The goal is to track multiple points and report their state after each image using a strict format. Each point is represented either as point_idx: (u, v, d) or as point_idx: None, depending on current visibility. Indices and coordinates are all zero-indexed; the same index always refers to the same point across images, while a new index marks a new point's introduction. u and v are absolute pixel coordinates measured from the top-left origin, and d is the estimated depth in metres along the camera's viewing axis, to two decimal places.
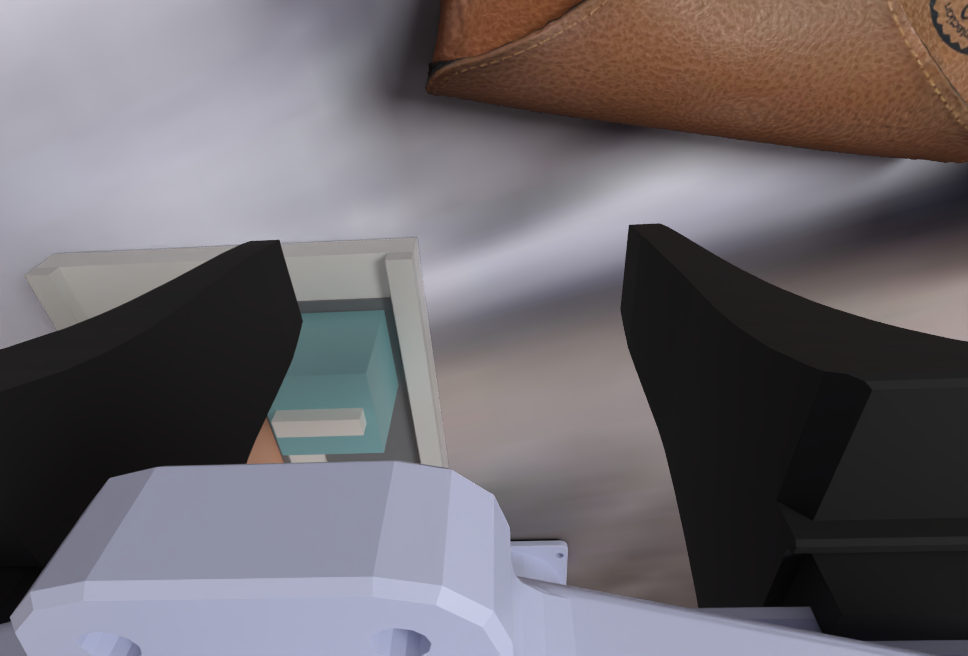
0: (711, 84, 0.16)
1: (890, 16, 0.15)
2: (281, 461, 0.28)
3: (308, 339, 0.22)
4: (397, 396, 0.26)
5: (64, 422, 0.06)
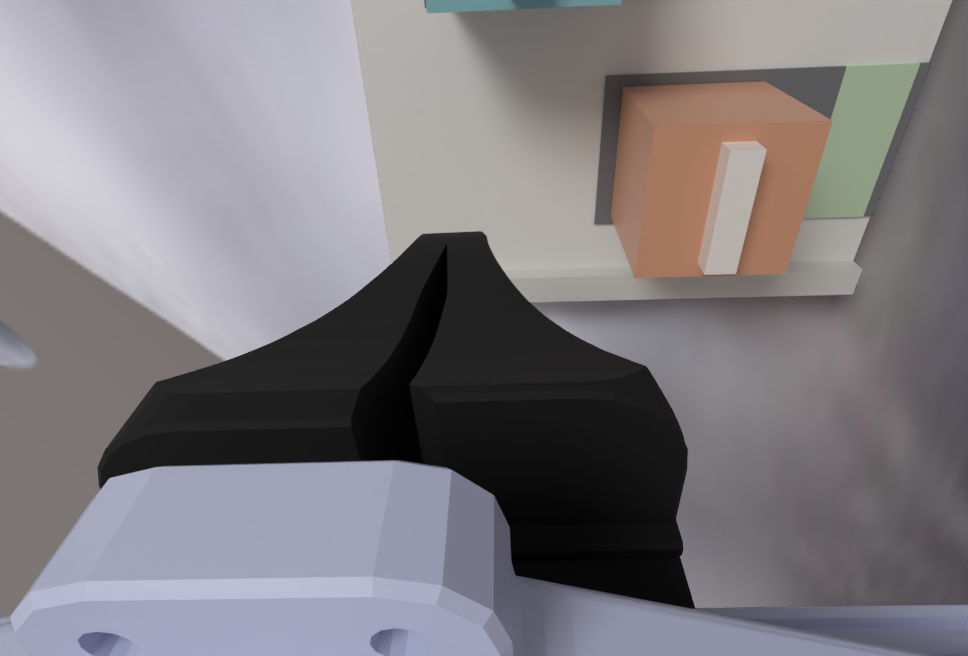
0: None
1: None
2: (753, 83, 0.16)
3: None
4: None
5: (389, 412, 0.06)
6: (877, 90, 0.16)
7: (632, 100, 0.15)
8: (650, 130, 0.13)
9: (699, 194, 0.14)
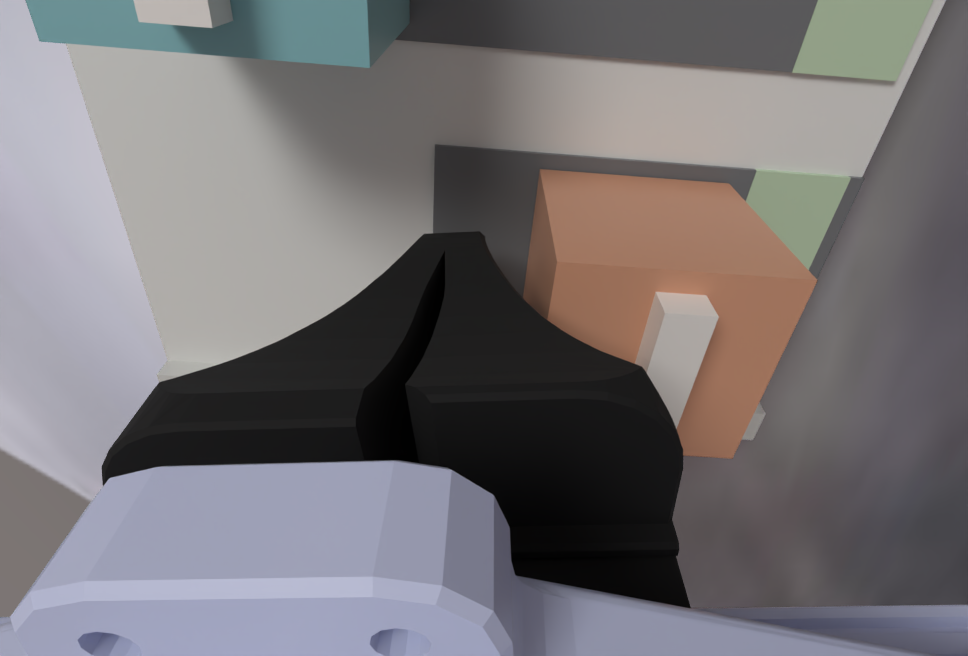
0: None
1: None
2: (713, 185, 0.12)
3: None
4: None
5: (393, 413, 0.06)
6: (795, 204, 0.12)
7: (544, 197, 0.11)
8: (553, 261, 0.09)
9: (620, 354, 0.10)
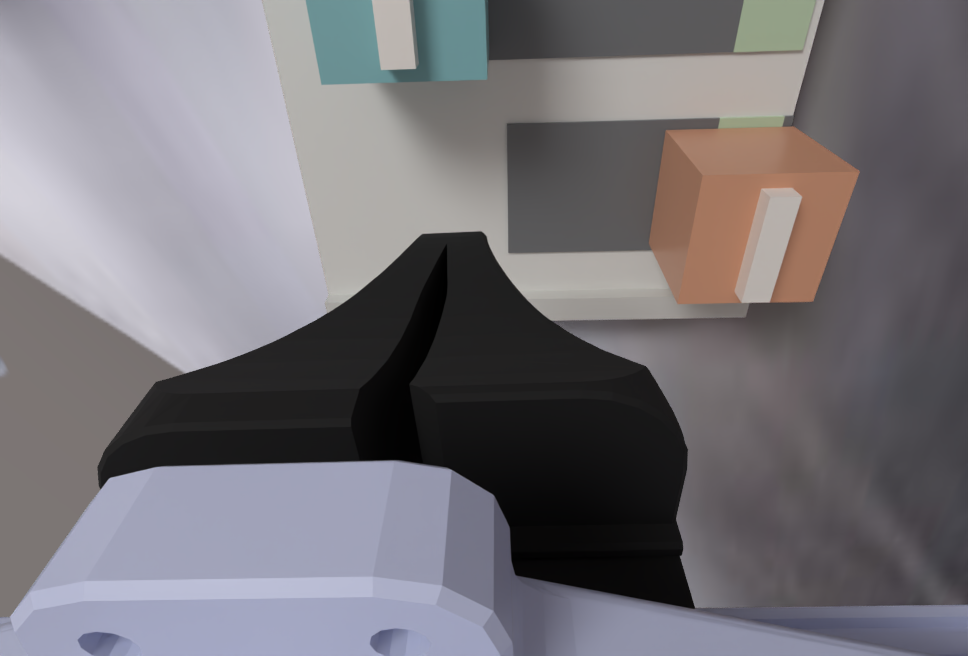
0: None
1: None
2: (783, 128, 0.18)
3: None
4: None
5: (389, 412, 0.06)
6: None
7: (677, 145, 0.17)
8: (698, 177, 0.15)
9: (739, 232, 0.16)
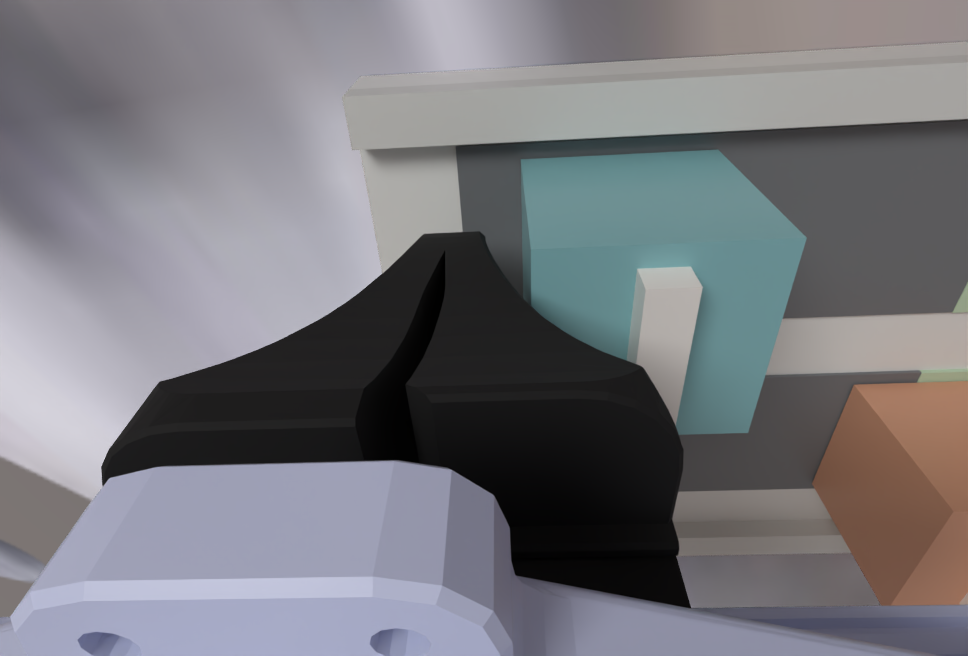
0: None
1: None
2: None
3: None
4: None
5: (392, 412, 0.06)
6: None
7: (883, 423, 0.14)
8: (940, 503, 0.12)
9: None
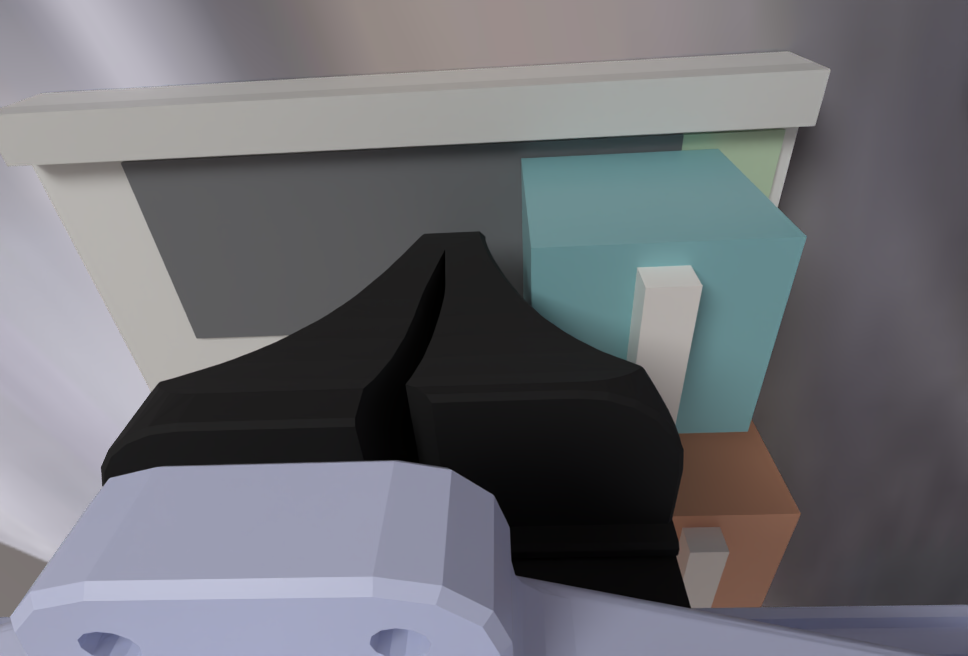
0: None
1: None
2: None
3: None
4: (370, 172, 0.12)
5: (393, 412, 0.06)
6: None
7: None
8: None
9: None
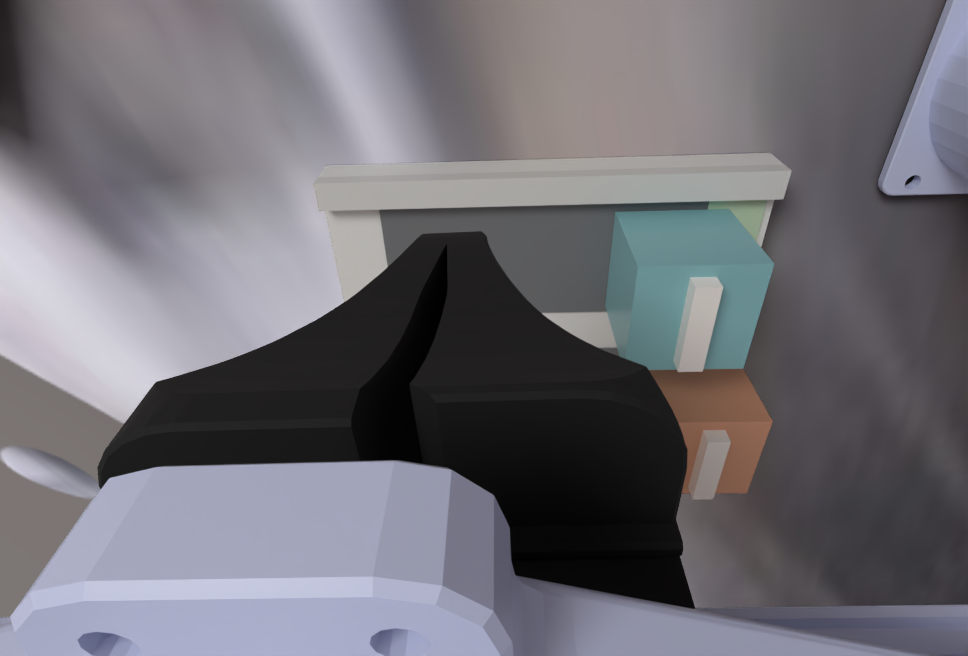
0: None
1: None
2: None
3: (616, 301, 0.20)
4: (525, 217, 0.20)
5: (389, 413, 0.06)
6: None
7: None
8: None
9: (689, 454, 0.21)
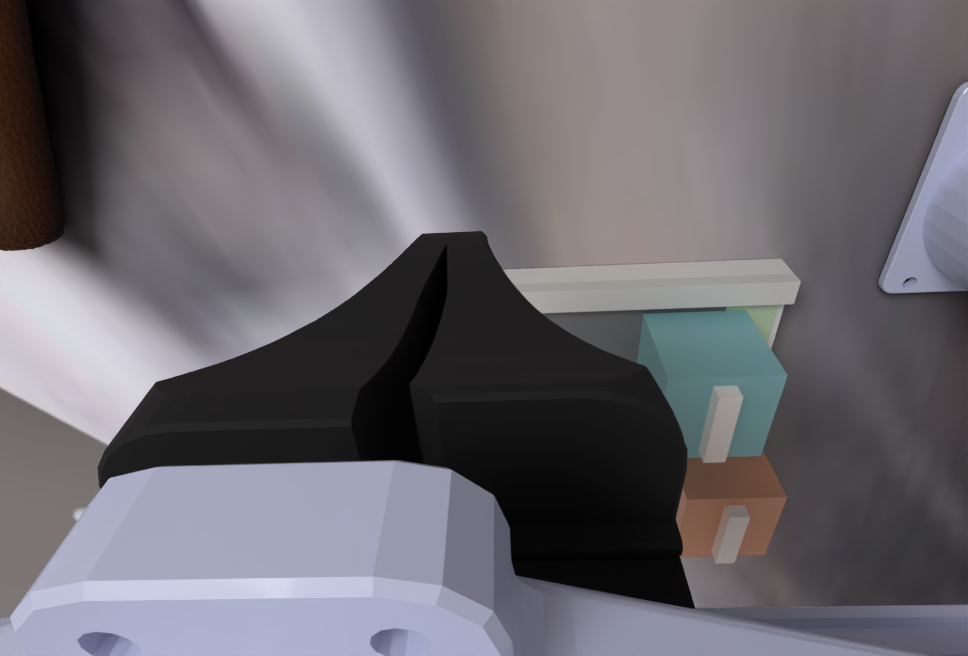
0: None
1: None
2: None
3: None
4: (562, 319, 0.23)
5: (389, 412, 0.06)
6: None
7: None
8: (684, 495, 0.23)
9: (712, 524, 0.24)
